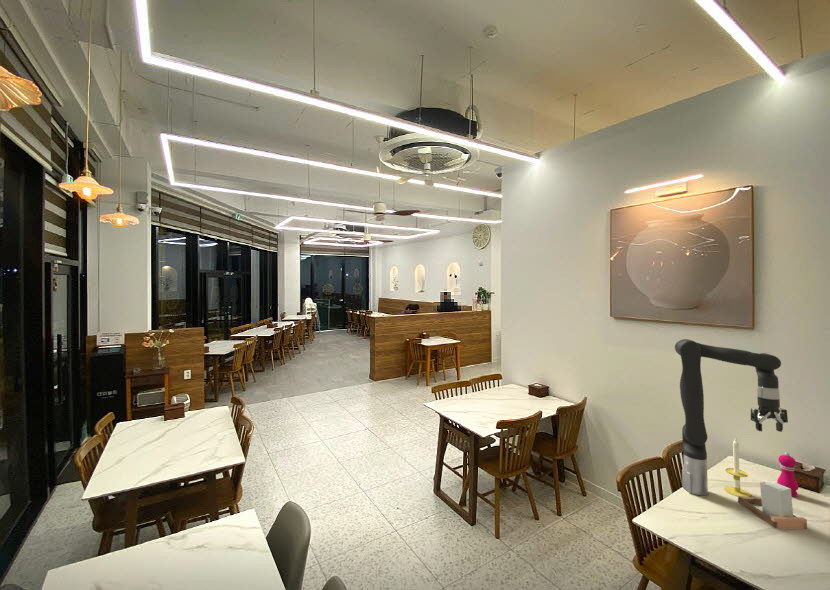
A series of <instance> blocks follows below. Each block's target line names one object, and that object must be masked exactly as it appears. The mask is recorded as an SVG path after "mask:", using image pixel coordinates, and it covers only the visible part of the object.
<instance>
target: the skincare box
mask: <svg viewBox="0 0 830 590" xmlns="http://www.w3.org/2000/svg"><path fill="white" fill-rule="evenodd" d="M759 486H760V487H759V488H760V498H761V500H762V505H761V511H762V512H763V513H765V514H766V515H768V516H769V517H771V516H777V517H793V515H794V508H793V499H792V498H793V497H792V496H791V489H790V488H788V487H785V486H782V485H780V484H778V483H777V482H774V481H772V480H763V481H760V482H759Z"/></svg>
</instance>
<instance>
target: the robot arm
mask: <svg viewBox="0 0 830 590" xmlns="http://www.w3.org/2000/svg"><path fill="white" fill-rule="evenodd" d="M674 350H675V353H677V354H678V355H679V357H680V359H681V365H682V372H681V375H680V381H679V390H680V391H679V392H680V393H679V394H680V399H681V404H682V405H681V406H682V408H683V412H684V417H685V418H684V421H685V423H684V424H683V426H682V427H681V428H682V429H681V433H682V435H681V436H682V437H681V438H682V449H683V468H682V469H681V479H682V480H681V481H682V482H681V483H682V488H683V489H684V490H685V491H686V492H688V493H689V494H693V495H697V496H707V495H708V494H709V487H708V486H709V485H708V480H709V479H708V453H707V447H706V443H707V440H708V432H707V429H706V424H705V414H704V413H705V412H704V410H705V401H704V400H705V399H704V396H705V395H704V385H703V377H702V371H701V364H702V363H701V361H702V358H707V359H711V360H716V361H721V362H725V363H729V364H734V365H741V366H748V367H754V368H755V372H756V375H757V393H756V394H757V396H756V398H757V406H758V408H753V407H751V408H750V421H752V422H755V429H756V431H758V432H763V422H764V421H767V419H769V420H770V419H773V420H774V421H775V422H776V423H775V429H776V431H777V432H781V433H782V432H783V430H784V424H785V423H789V420H788V419H789V417H788V410H787V409H784V408H781V403H780V402H781V398H780V397H781V396H780V389H779V377H778V376H777V375H776V374H775V370H777V369H778V370H779V368H780V367H781V366H782V361H781V360H780V358H779V357H777V356H776V355H773V354H771V353H766V352H765V353H763V352H761V353H757V352H756V353H755V352H751V351H748V350H743V349H738V348H729V347H724V346H716V345H715V346H714V345H710V344H709V345H707V344H704V343H699V342H696V341H694V340H691V339H686V338H684V339H679V340H678V341H676V343H675V344H674Z"/></svg>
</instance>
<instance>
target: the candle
mask: <svg viewBox="0 0 830 590" xmlns="http://www.w3.org/2000/svg"><path fill="white" fill-rule="evenodd" d="M739 444H740V443H739V442H738V440H737V437H735V438H734V440H733V442H732V450H733V451H732V454H733V455H732V456H733V457H732V458H733V461H732V462H733V468H732V467H727V468H725V472H726V473H727V474H729V475H732V476H733V477H732V478H733V486H730V485H727V486H724V488H723V490H724V492H726V493H727V494H730V495H732V496H734V495H735V496H734V497H737V498H738V497H751V496H752V495H751V493H750V492H749V491H747V490H745V489H743V488H741V478H746V477H749V473H747V472H746V471H744V470H742V469H740V445H739ZM751 498H752V497H751Z"/></svg>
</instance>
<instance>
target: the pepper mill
mask: <svg viewBox="0 0 830 590" xmlns="http://www.w3.org/2000/svg"><path fill="white" fill-rule="evenodd" d="M778 462H779V467H780V468H781V473H780V474H779V476H778V478H777V482H776V483H777V484H780V485H782V486H785V487H788V488H790V489H791V496H792V498H795V497H798V492H797V491H798V490H799V483H798V481H797V480H796V478H795V475H794V471H795V470H796V468H795V466H796V465H797V461H796V459H795V458H794V457H793V456H790V453H789V452H784V454H781V455H779V456H778Z"/></svg>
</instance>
